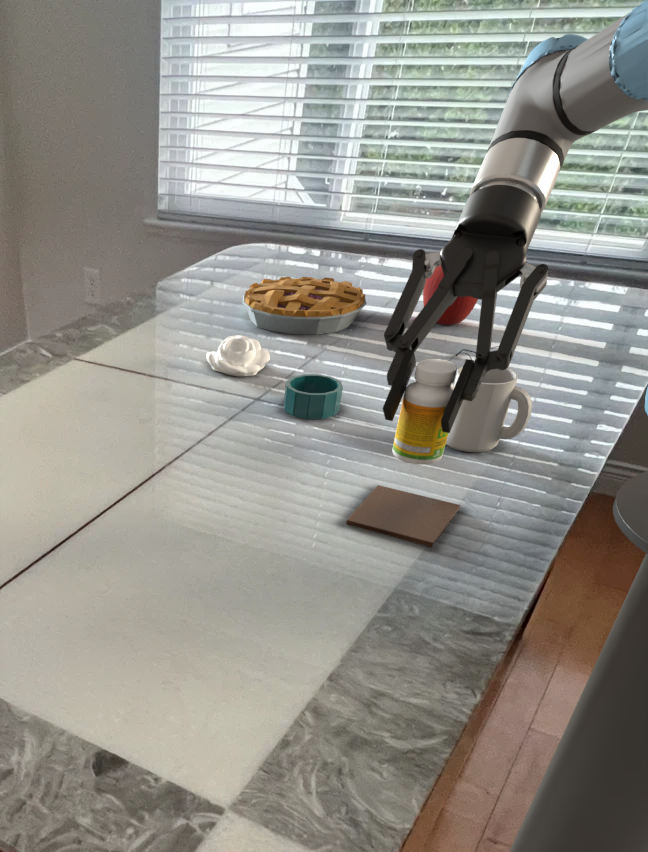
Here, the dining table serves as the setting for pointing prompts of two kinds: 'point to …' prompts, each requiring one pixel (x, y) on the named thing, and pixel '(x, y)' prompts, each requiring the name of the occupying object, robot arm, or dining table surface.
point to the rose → (239, 356)
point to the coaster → (404, 515)
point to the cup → (490, 413)
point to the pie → (303, 305)
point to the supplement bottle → (424, 413)
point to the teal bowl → (312, 396)
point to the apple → (459, 306)
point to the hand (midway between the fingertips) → (416, 420)
